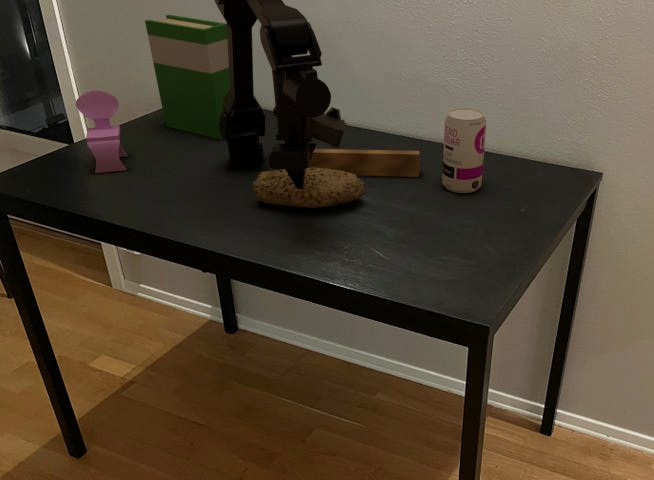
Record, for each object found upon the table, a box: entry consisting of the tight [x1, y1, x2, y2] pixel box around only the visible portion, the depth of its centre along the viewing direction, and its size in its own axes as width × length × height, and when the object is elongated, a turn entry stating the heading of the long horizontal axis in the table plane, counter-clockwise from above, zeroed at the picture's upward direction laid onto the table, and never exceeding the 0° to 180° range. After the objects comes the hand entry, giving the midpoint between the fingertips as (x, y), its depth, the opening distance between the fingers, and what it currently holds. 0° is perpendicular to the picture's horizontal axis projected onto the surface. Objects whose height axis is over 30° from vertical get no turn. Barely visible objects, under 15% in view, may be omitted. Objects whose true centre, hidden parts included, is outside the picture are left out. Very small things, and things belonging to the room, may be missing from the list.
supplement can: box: [441, 107, 487, 194], centre depth 143 cm, size 8×8×15 cm
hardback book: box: [144, 14, 230, 140], centre depth 166 cm, size 18×7×24 cm, turn 61°
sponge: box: [252, 167, 366, 209], centre depth 138 cm, size 13×8×20 cm
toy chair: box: [75, 89, 128, 174], centre depth 150 cm, size 8×9×15 cm
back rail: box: [308, 148, 420, 178], centre depth 151 cm, size 26×2×5 cm, turn 89°
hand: (300, 188), depth 126 cm, fingers closed
